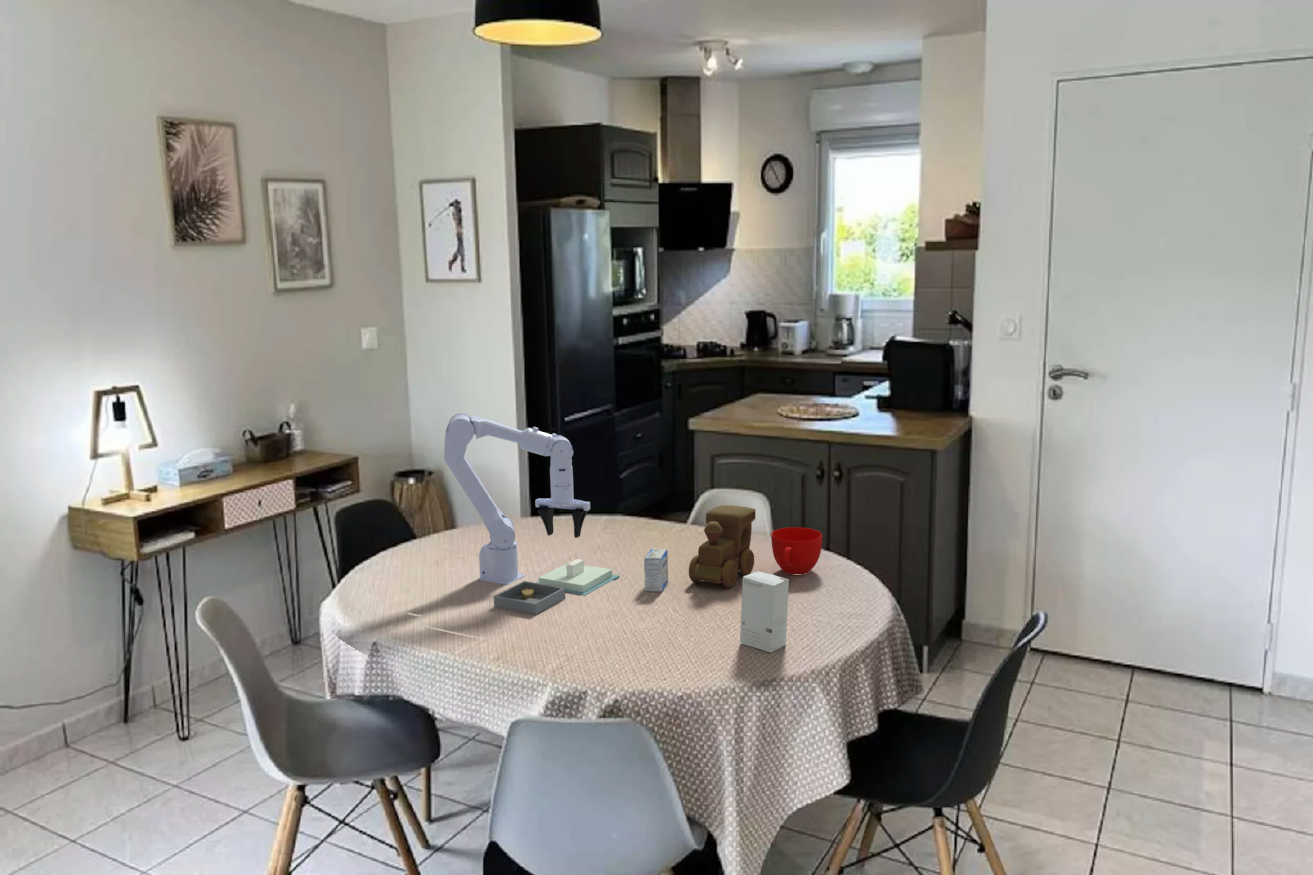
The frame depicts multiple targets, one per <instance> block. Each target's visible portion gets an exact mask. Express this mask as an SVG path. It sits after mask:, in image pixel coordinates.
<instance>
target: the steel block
mask: <svg viewBox="0 0 1313 875" xmlns="http://www.w3.org/2000/svg"><path fill="white" fill-rule="evenodd" d="M525 601H528V602H533V603H535V602H537V601H539V600H538V599H533V598H529V599H527V600H525Z"/></svg>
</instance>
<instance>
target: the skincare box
mask: <svg viewBox="0 0 1313 875" xmlns="http://www.w3.org/2000/svg"><path fill="white" fill-rule="evenodd" d="M789 582H790V581H789V579H788V578H785V577H782V576H777V575H776V574H771V573H766V572H762V571H759V570H757V571H756V570H755V571H754V572H751V573H750V574H749V575H746V576H744V575H743V577H742V586H741V588H742V590H741V591H742V592H741V613H740V631H739V632H740V633H739V643H740V644H741V645H743V646H747V647H751V648H755V649H757V650H758V649H759V650H761V651H764V652H768V653H771V654H772V653H774V652H776V651H777V650H780V649H781V648H783V647H785V646H786V644H787V643H786V642H787V625H788V608H789V607H788V605H789V603H788V602H789V584H790V583H789ZM782 646H783V647H782Z"/></svg>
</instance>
